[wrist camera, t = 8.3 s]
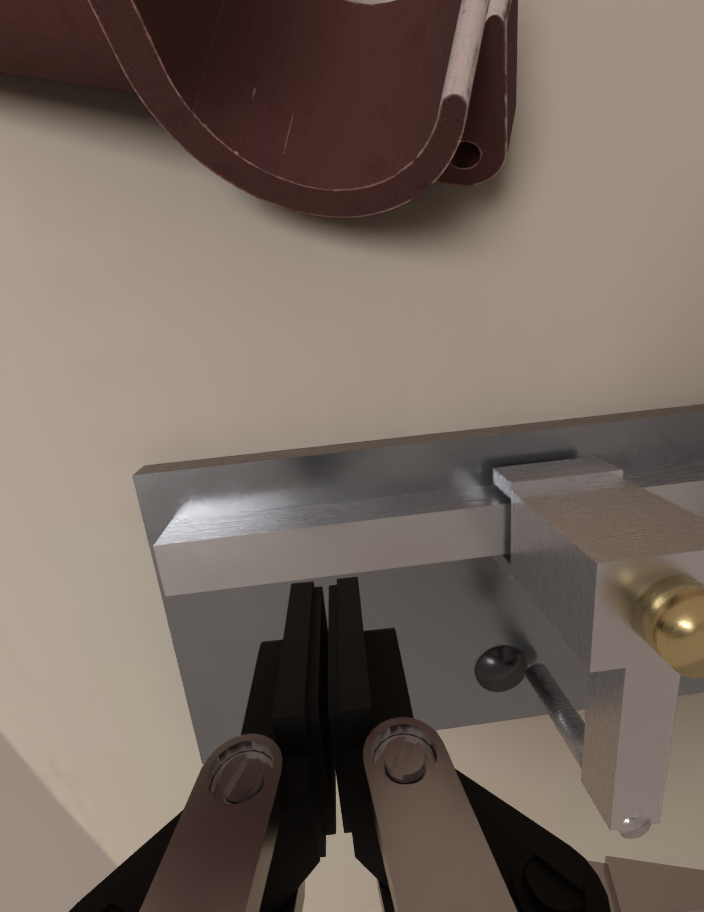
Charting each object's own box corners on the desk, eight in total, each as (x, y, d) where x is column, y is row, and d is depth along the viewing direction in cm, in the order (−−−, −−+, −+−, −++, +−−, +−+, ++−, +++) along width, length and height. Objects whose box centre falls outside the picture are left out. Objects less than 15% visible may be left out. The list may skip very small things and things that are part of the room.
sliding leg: (592, 455, 18) (808, 557, 10) (579, 675, 21) (737, 884, 13) (491, 467, 17) (631, 579, 10) (492, 687, 20) (601, 907, 13)
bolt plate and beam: (853, 387, 20) (1217, 430, 12) (794, 658, 23) (1035, 825, 16) (144, 465, 18) (12, 575, 10) (208, 740, 22) (149, 972, 14)
